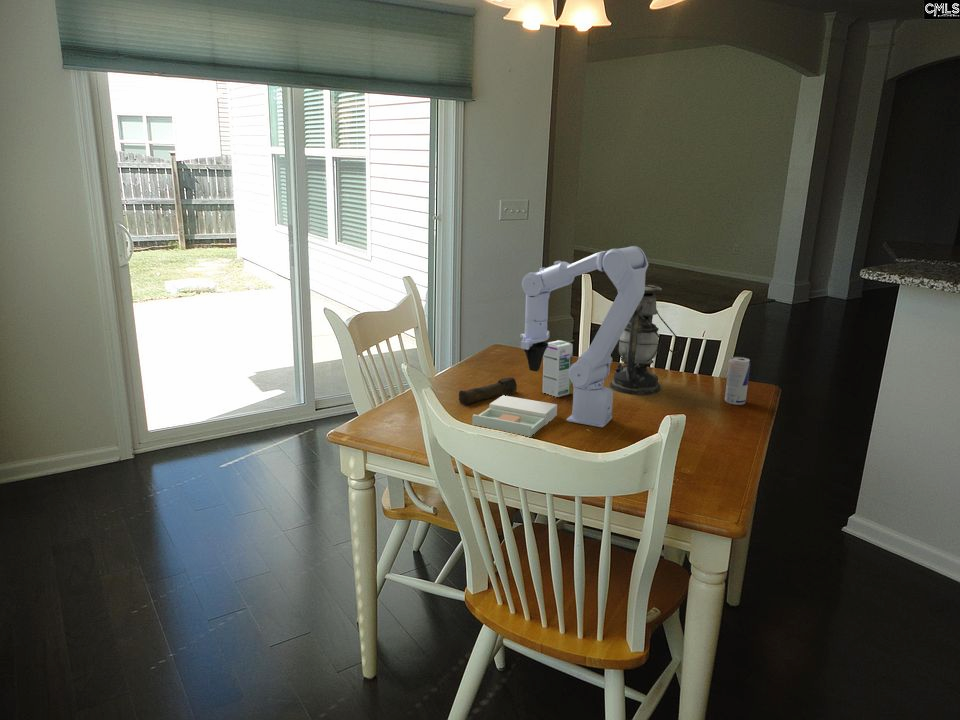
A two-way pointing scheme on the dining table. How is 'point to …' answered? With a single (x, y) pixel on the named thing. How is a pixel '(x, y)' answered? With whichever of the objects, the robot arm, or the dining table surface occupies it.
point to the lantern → (640, 349)
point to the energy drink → (737, 380)
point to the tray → (509, 422)
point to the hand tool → (488, 391)
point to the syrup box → (557, 368)
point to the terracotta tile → (510, 418)
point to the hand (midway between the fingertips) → (534, 370)
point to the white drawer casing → (525, 407)
